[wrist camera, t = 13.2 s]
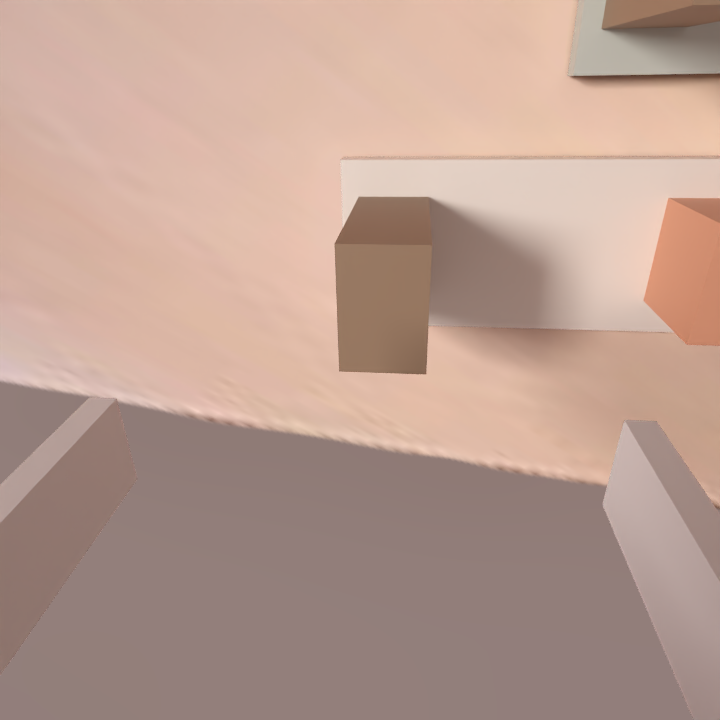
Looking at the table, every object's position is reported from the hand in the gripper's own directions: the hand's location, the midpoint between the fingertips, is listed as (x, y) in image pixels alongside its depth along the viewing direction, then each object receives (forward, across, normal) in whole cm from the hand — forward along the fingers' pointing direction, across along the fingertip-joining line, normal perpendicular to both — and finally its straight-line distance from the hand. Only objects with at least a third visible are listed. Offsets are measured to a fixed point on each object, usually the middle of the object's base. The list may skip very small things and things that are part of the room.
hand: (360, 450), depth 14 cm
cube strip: (+22, +11, 0) cm, 24 cm away
